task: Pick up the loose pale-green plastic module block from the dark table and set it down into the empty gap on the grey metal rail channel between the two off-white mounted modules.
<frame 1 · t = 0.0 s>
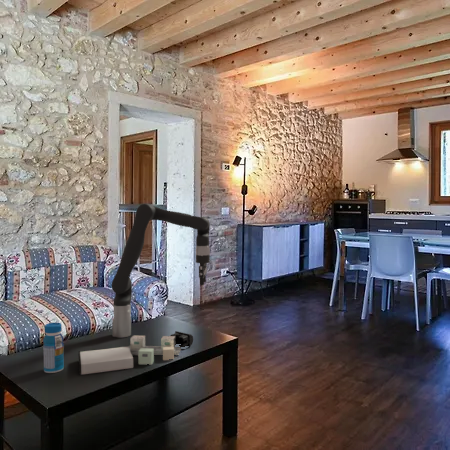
hand: (202, 283, 228), 29 cm above the table, tool pointing down, fingers open, 8 cm apart
module: (146, 362, 190), on the table
rail: (153, 352, 203), on the table
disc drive: (105, 365, 189), on the table
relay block: (168, 358, 196), on the table
beverage bottle: (53, 370, 182), on the table
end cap: (181, 346, 213), on the table
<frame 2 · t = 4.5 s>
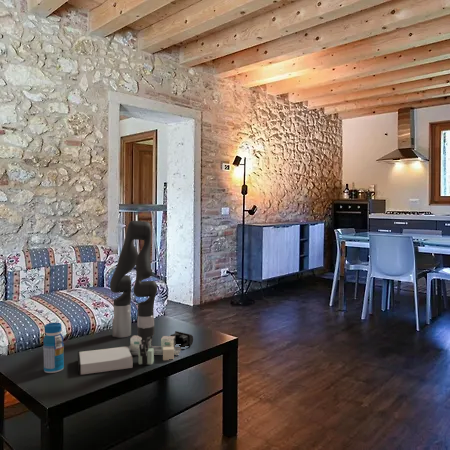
hand: (146, 362, 190), 0 cm above the table, tool pointing down, fingers closed on module, 4 cm apart
module: (146, 362, 190), on the table, touching gripper
everything else where it was.
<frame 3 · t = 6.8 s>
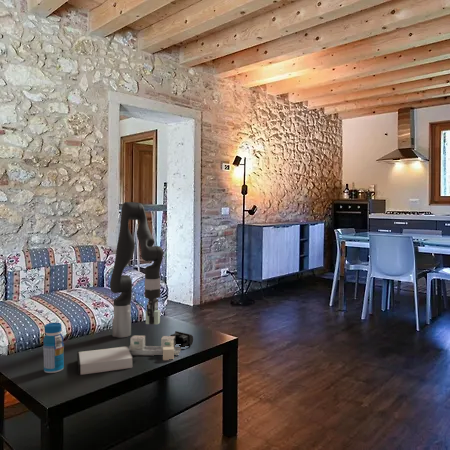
hand: (152, 322, 203), 15 cm above the table, tool pointing down, fingers closed on module, 4 cm apart
module: (152, 323, 203), point 15 cm above the table, touching gripper
everything else where it was.
when the fingers open (3 cm above the table, at t = 9.3 s): module drops 2 cm, resting on rail.
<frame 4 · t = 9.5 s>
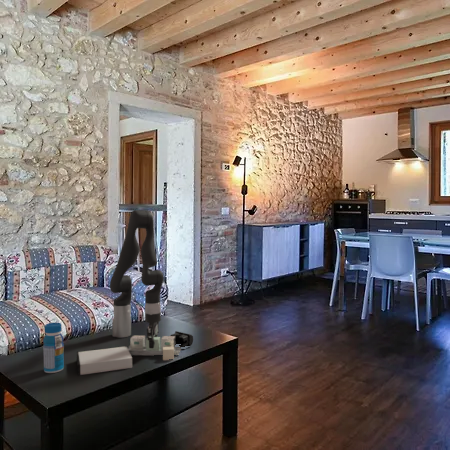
hand: (153, 345, 203), 4 cm above the table, tool pointing down, fingers open, 6 cm apart
module: (153, 350, 204), point 1 cm above the table, touching rail
everything else where it was.
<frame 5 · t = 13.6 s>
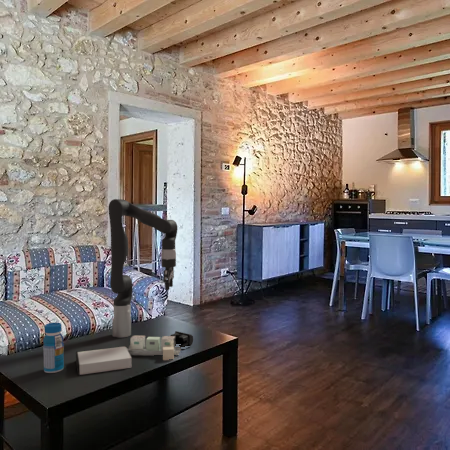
hand: (168, 288, 221), 28 cm above the table, tool pointing down, fingers open, 8 cm apart
nothing on the table moved.
at the end: module 0.2 cm off-centre on the rail, point 1.2 cm above the rail's base; module tilted 0°; the gripper is holding nothing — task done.
